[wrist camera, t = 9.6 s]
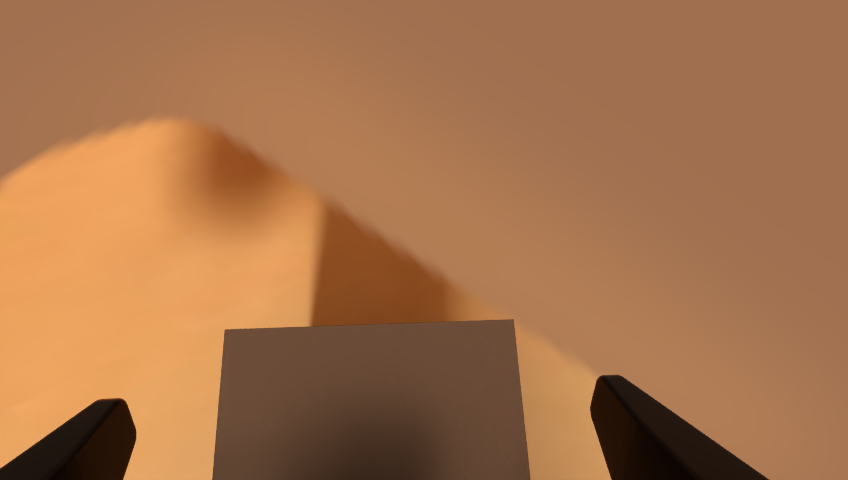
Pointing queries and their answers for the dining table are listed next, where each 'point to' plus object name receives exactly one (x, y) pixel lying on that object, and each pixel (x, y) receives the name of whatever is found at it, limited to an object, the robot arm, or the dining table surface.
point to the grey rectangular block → (372, 403)
